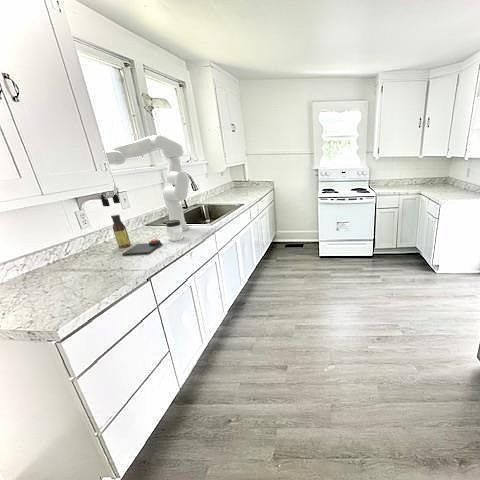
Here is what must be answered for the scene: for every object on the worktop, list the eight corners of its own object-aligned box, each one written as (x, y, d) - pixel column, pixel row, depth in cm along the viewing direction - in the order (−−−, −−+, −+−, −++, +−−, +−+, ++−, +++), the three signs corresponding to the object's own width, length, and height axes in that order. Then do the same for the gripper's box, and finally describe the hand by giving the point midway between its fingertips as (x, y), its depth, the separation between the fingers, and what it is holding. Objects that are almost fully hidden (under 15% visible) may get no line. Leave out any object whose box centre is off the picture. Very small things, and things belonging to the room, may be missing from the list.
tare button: (153, 241, 160) (152, 239, 160) (158, 241, 160) (157, 238, 160) (150, 243, 157) (150, 240, 157) (156, 242, 158) (155, 240, 157)
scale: (138, 245, 161) (136, 241, 160) (162, 244, 163) (161, 239, 162) (122, 256, 146) (121, 251, 145) (150, 254, 147) (148, 249, 146)
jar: (170, 241, 167) (166, 223, 163) (167, 239, 172) (163, 221, 168) (185, 238, 172) (182, 221, 168) (181, 235, 178) (178, 218, 174)
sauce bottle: (133, 245, 162) (124, 214, 155) (121, 248, 157) (112, 216, 150) (127, 244, 165) (118, 213, 158) (116, 247, 160) (106, 215, 153)
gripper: (106, 173, 154) (114, 202, 160) (85, 176, 138) (94, 207, 143) (119, 173, 155) (127, 201, 160) (100, 175, 139) (109, 207, 144)
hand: (112, 204), depth 152 cm, fingers open, 9 cm apart
